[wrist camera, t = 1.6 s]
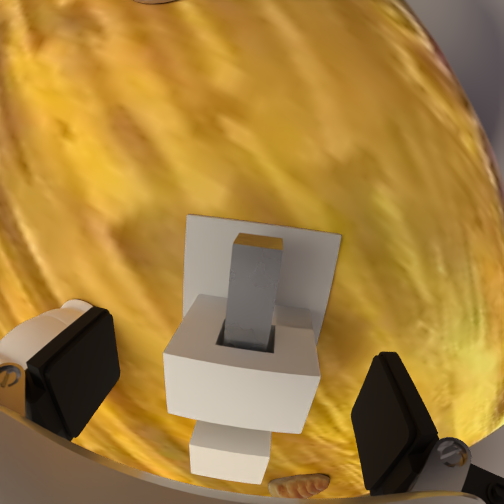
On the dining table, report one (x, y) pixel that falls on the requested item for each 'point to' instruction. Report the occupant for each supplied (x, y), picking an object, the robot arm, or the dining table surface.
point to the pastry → (298, 486)
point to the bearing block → (239, 360)
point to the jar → (39, 332)
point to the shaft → (252, 291)
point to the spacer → (229, 452)
